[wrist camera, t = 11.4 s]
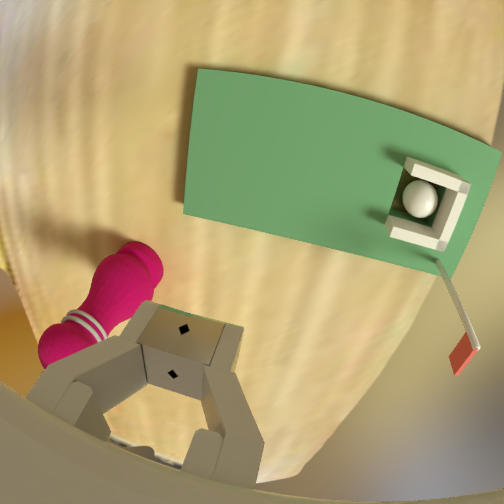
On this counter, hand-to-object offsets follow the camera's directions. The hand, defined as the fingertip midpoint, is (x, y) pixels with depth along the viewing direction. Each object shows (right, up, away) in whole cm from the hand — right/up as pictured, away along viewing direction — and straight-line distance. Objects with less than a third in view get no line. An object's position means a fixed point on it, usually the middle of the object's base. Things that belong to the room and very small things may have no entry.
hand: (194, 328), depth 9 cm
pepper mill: (-12, +1, +29) cm, 31 cm away
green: (+10, +10, +19) cm, 23 cm away
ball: (+17, +7, +17) cm, 25 cm away
